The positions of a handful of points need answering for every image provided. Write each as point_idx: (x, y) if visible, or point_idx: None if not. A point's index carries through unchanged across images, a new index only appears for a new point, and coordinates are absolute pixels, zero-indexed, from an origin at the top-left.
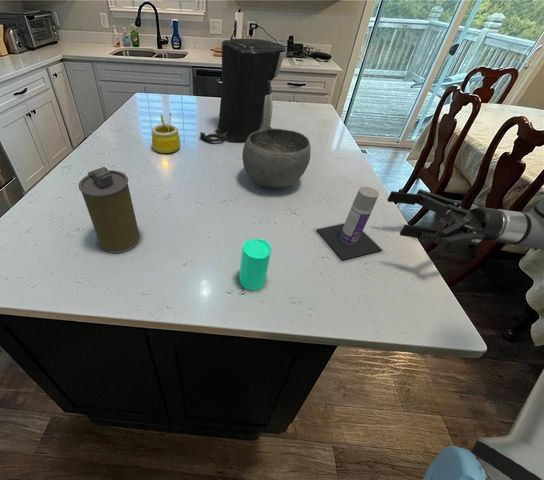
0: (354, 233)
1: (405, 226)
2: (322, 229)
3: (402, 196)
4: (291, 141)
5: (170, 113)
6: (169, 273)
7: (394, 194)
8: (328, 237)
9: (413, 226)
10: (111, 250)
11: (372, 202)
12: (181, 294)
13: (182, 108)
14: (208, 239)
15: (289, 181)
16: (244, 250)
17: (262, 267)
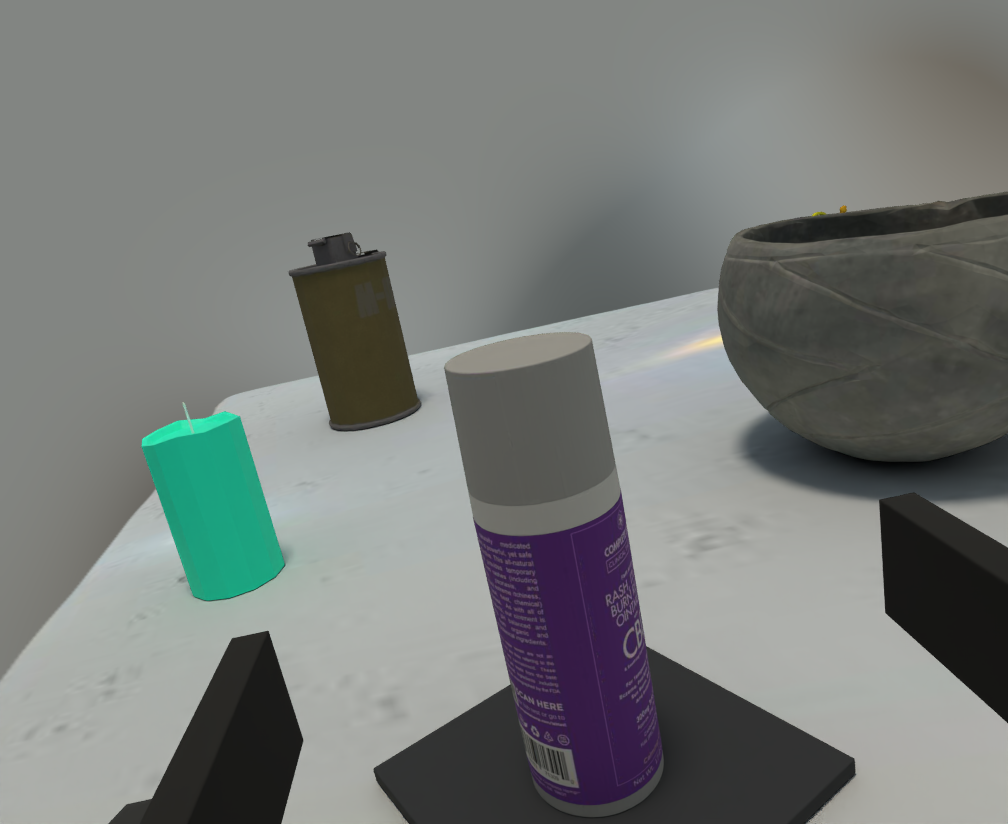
0: (510, 682)
1: (237, 641)
2: None
3: (975, 597)
4: None
5: (842, 207)
6: (271, 481)
7: (899, 532)
8: None
9: (224, 685)
10: (330, 418)
11: (461, 420)
12: None
13: None
14: (414, 473)
15: (823, 409)
16: (181, 420)
17: (158, 490)
